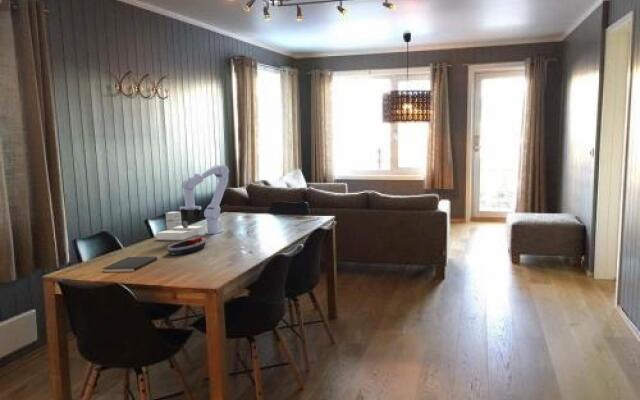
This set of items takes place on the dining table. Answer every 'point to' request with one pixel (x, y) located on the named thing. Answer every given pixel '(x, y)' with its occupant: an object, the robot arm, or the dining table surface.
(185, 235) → the carton
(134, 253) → the dining table surface
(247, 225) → the dining table surface
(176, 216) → the supplement box
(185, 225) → the flap
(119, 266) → the hardcover book
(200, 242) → the dish
